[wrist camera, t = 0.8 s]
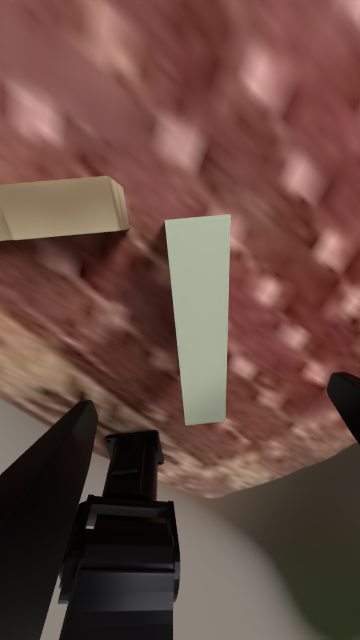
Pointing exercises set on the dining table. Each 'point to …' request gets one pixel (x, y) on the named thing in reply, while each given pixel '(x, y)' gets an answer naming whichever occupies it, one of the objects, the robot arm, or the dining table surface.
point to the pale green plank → (201, 311)
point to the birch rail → (61, 208)
